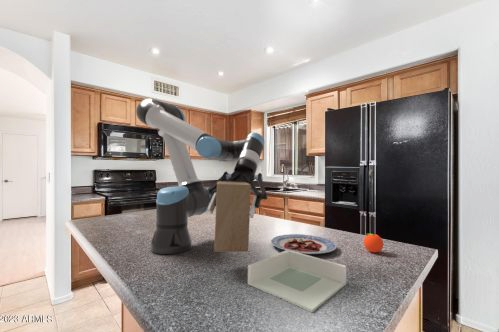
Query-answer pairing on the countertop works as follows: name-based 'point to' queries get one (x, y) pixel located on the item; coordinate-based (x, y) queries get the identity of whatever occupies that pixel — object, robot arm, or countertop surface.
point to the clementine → (373, 243)
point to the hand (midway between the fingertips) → (229, 213)
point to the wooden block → (232, 216)
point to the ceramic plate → (303, 243)
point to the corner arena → (298, 278)
